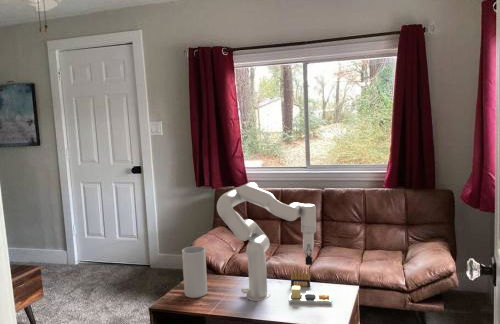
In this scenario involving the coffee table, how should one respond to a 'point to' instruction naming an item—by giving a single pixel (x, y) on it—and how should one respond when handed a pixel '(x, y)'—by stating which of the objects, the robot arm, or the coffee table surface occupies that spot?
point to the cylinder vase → (194, 271)
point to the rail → (318, 300)
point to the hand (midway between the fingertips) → (308, 261)
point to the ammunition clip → (301, 281)
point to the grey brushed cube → (309, 295)
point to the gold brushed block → (296, 292)
